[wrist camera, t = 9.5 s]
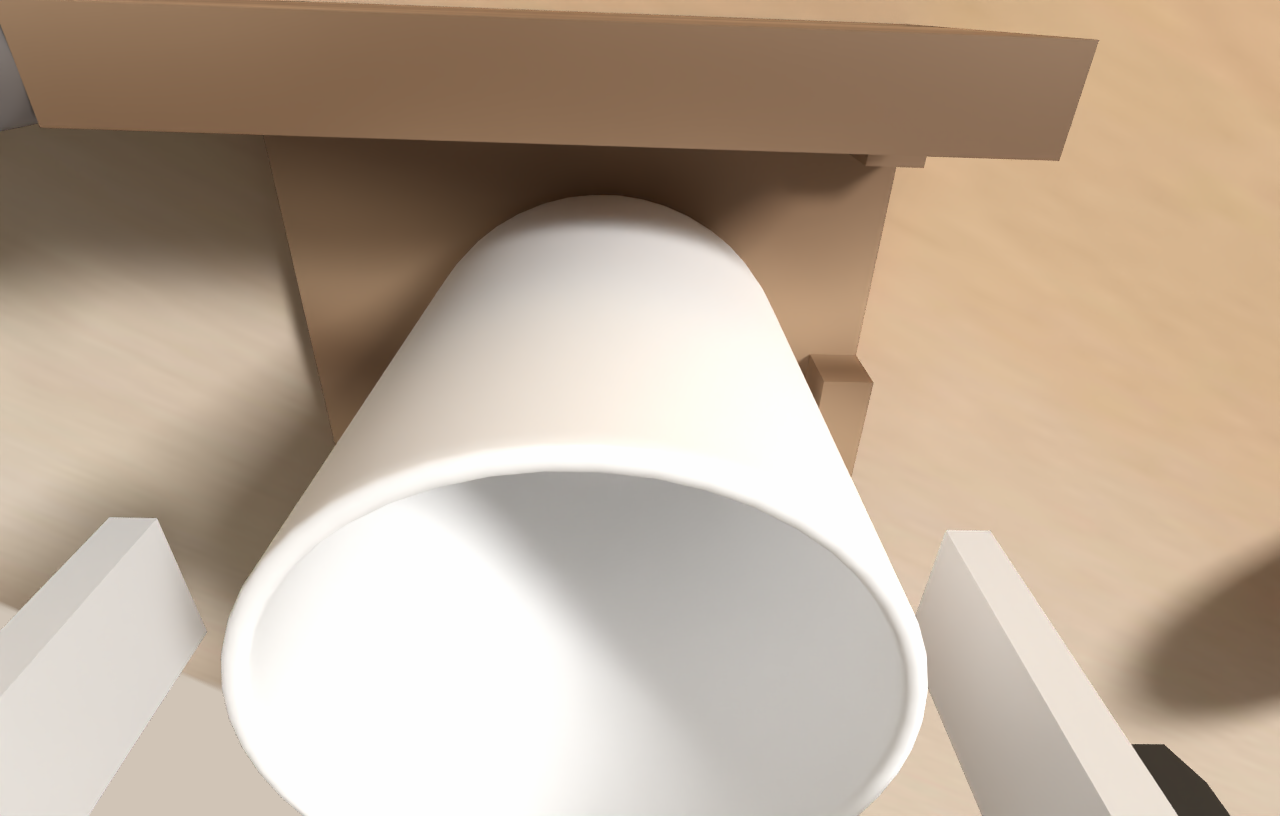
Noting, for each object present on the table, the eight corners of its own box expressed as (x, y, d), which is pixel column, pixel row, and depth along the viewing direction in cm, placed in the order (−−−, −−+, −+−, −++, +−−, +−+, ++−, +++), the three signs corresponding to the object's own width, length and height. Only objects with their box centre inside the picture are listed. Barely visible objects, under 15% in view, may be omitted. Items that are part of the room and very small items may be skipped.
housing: (178, -4, 14) (-231, -9, 8) (909, 24, 15) (1149, 43, 8) (339, 605, 24) (220, 853, 17) (789, 612, 24) (854, 856, 17)
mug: (306, 445, 19) (4, 860, 10) (586, 98, 15) (513, 262, 5) (549, 594, 22) (491, 1018, 13) (841, 344, 18) (1071, 717, 8)
